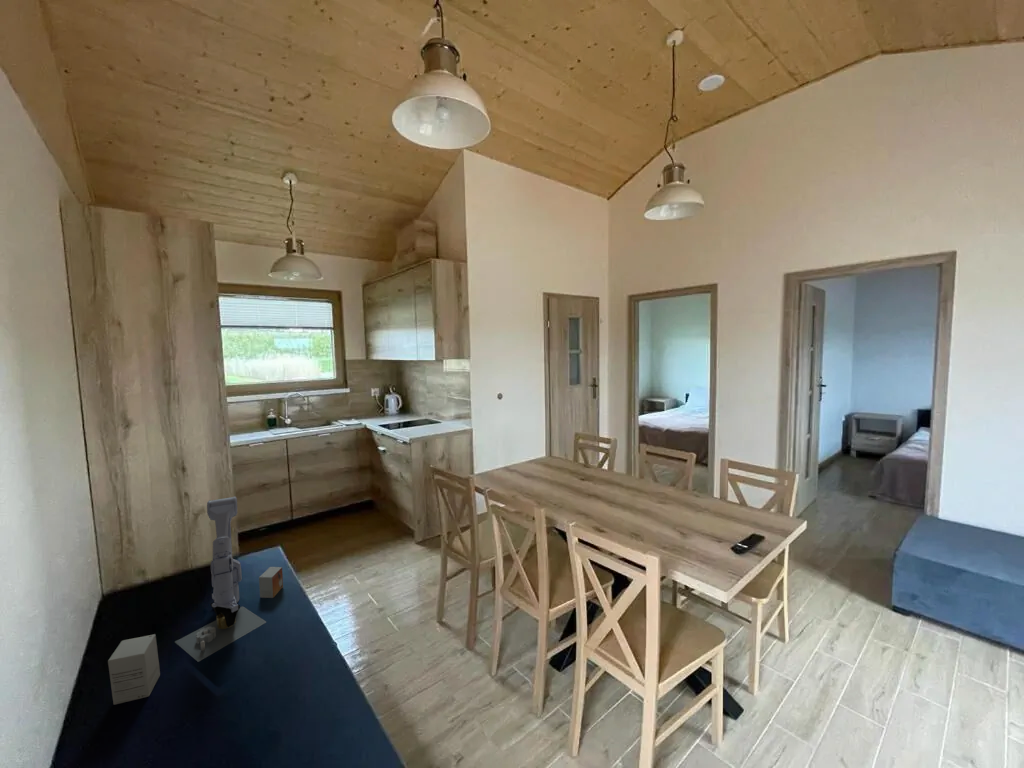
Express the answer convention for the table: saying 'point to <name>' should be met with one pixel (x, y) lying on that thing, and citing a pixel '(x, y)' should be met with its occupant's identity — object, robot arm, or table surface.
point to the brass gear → (222, 621)
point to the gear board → (218, 635)
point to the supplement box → (134, 669)
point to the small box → (271, 582)
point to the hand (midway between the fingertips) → (226, 622)
